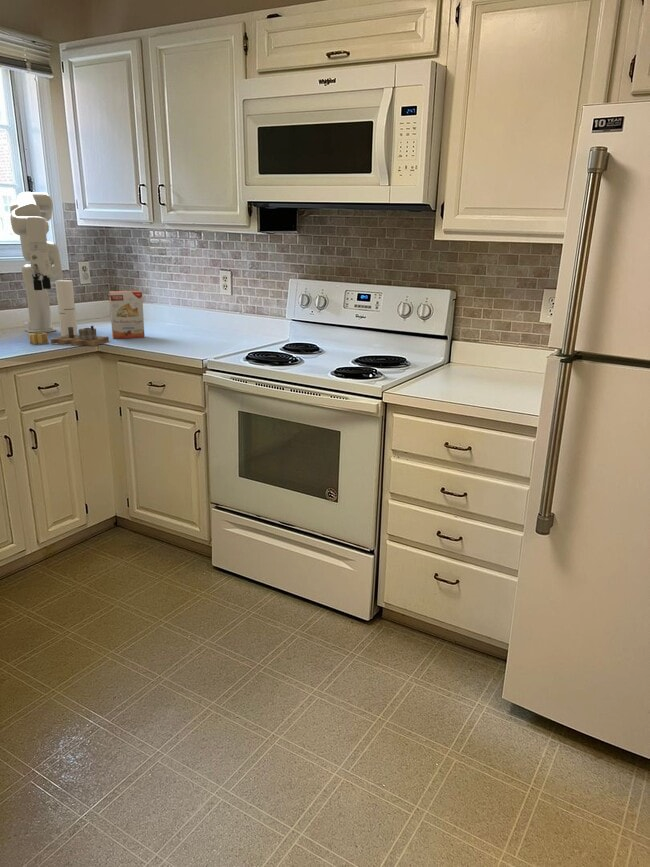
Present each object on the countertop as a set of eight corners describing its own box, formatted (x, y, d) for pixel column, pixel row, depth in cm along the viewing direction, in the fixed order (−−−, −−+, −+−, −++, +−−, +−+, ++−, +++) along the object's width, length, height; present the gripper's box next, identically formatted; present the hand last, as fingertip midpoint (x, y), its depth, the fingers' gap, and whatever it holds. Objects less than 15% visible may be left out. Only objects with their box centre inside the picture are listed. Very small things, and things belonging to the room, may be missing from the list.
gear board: (50, 343, 277) (48, 326, 275) (68, 339, 289) (66, 322, 287) (93, 346, 274) (91, 328, 271) (108, 341, 286) (107, 324, 284)
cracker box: (113, 339, 292) (109, 292, 285) (112, 337, 297) (108, 290, 291) (145, 337, 297) (142, 291, 291) (143, 335, 302) (140, 290, 296)
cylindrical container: (77, 337, 295) (71, 281, 288) (60, 337, 293) (54, 281, 285) (78, 334, 302) (72, 280, 294) (61, 335, 299) (55, 280, 292)
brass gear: (26, 343, 276) (25, 334, 275) (36, 341, 283) (35, 332, 282) (41, 344, 275) (40, 335, 274) (51, 342, 282) (50, 332, 280)
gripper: (39, 247, 261) (44, 290, 266) (54, 247, 278) (58, 288, 283) (20, 247, 261) (25, 290, 266) (36, 247, 278) (41, 288, 282)
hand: (42, 289), depth 274 cm, fingers open, 9 cm apart
